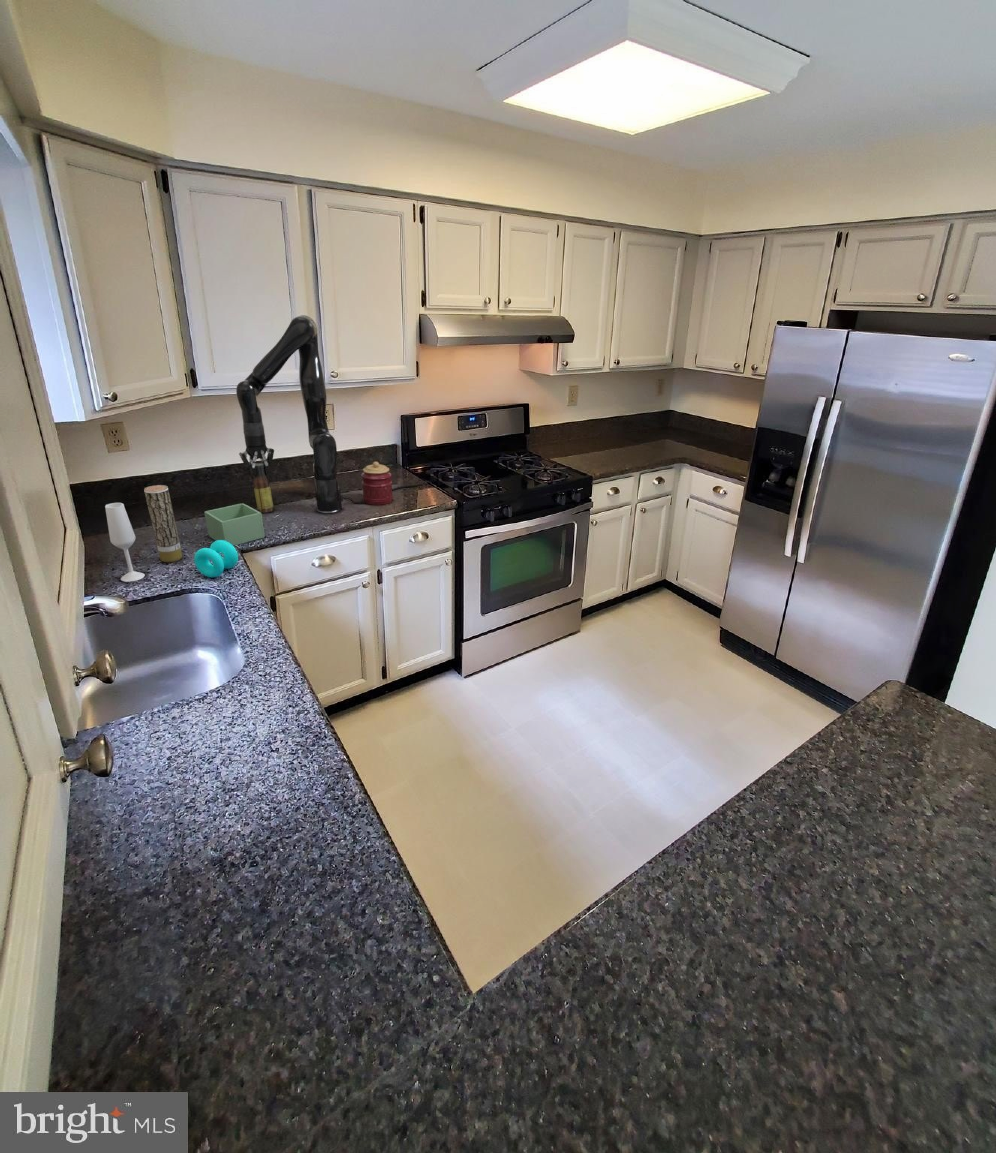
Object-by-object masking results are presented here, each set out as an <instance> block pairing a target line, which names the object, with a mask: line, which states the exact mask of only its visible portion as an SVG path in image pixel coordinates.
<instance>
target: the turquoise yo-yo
mask: <svg viewBox="0 0 996 1153" xmlns="http://www.w3.org/2000/svg"><path fill="white" fill-rule="evenodd" d="M222 555H223V556H222ZM193 561H194V565H195V567H196V569H197V570H198V572H199V573H201V574H202V575H203V576H205V577H206V578H218V577H219V576H221V575H222V574H223V572H224V570H225V569H226V570H230V569H232V568H234V567H236V565H237V564H238V561H239V553H238V551H237V549H236V547H235V545H234V546H233V545H232V544H230V543H229V542H227V541H224V540H217V541H216V540H214V541H213V542H212V543H211V545H210V546H209V547H202V548H200V549H198V550H197V551H196V552H195V554H194V558H193Z"/></svg>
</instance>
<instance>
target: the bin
mask: <svg viewBox="0 0 996 1153" xmlns="http://www.w3.org/2000/svg"><path fill="white" fill-rule="evenodd" d="M262 514H263V513H262V512H259V511H258V510H256V509H254V508H253V507H251V506H249V505H247V504H245V503H237V504H232V505H228V506H223V507H219V508H214V509H209V510H206V511H204V517H205V522H206V528H207V533H208V537H209V538H211V539H212V540H214V541H217V540H224V541H227V542H229V543H230V544H232V545H233V546H234V547H235V546H237V545H241V544H244V543H249V542H253V541H256V540H260V539H264V538H265V537H266V536H265V529H264V521H263V515H262Z"/></svg>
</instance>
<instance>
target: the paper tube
mask: <svg viewBox="0 0 996 1153" xmlns="http://www.w3.org/2000/svg"><path fill="white" fill-rule="evenodd" d="M143 490H144V491H143V492H144V496H145V501H146V504H147V509H148V513H149V517H150V522H151V526H152V531H153V535H154V539H155V543H156V547H157V552H158V556H159V559H160V561H161V562H163V563H175V562H178V561H180V560H181V559H182V558H183V553H182V552H183V551H182V547H181V542H180V536H179V533H178V528H177V523H176V519H175V515H174V509H173V505H172V504H173V503H172V501H171V495H170V491H169V487H168V486H167V485H163V484H157V485H151V486H147V487H144V489H143Z"/></svg>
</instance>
